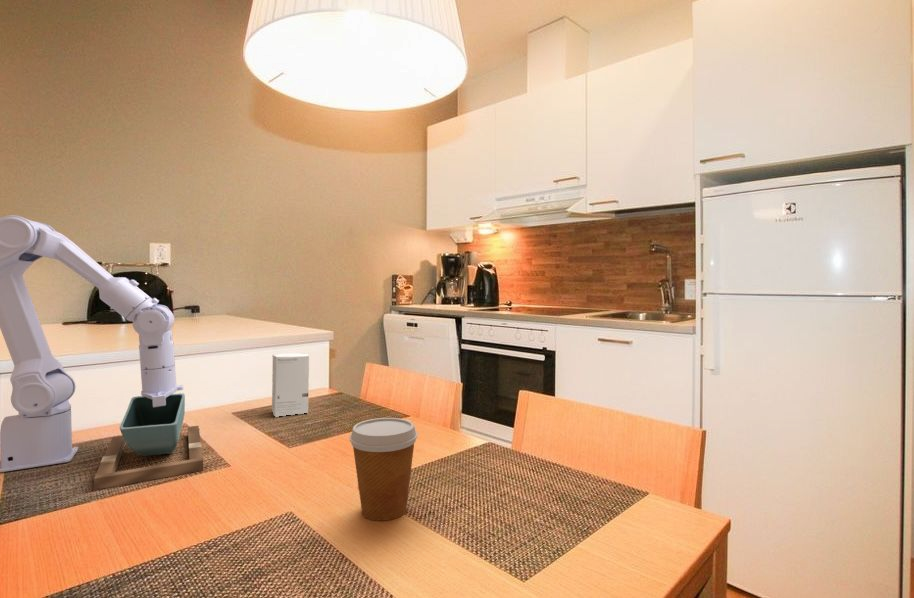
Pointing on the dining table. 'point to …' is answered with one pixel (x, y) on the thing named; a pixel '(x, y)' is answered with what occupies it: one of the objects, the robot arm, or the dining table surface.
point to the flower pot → (153, 425)
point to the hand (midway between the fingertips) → (162, 434)
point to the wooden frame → (110, 461)
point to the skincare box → (290, 384)
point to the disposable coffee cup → (383, 465)
